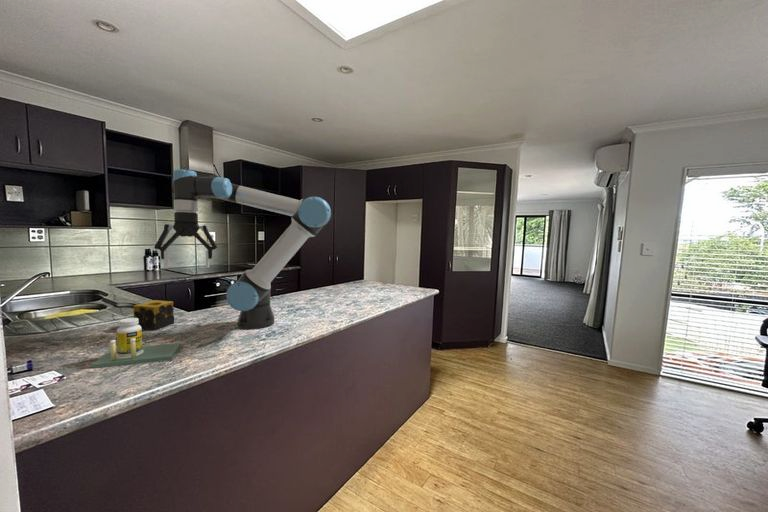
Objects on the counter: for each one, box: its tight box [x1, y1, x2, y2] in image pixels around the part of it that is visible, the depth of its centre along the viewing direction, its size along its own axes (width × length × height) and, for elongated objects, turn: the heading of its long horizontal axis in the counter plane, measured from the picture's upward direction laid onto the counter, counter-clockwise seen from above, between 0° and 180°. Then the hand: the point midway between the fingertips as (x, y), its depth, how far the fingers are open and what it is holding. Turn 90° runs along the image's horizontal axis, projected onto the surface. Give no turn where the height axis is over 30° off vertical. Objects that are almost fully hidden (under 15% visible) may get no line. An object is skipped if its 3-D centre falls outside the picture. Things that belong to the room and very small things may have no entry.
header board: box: [91, 338, 183, 369], centre depth 100 cm, size 20×12×7 cm, turn 111°
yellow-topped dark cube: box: [132, 299, 175, 331], centre depth 129 cm, size 10×10×10 cm
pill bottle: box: [116, 317, 143, 357], centre depth 99 cm, size 6×6×11 cm
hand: (187, 267), depth 118 cm, fingers open, 13 cm apart
